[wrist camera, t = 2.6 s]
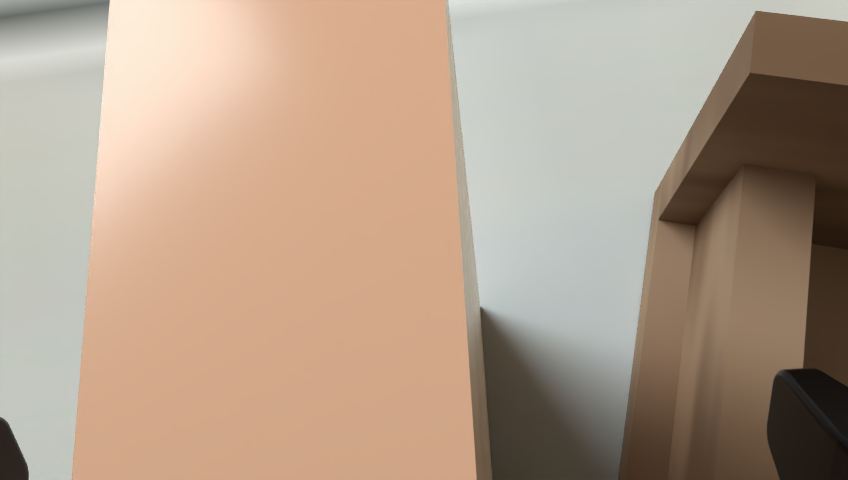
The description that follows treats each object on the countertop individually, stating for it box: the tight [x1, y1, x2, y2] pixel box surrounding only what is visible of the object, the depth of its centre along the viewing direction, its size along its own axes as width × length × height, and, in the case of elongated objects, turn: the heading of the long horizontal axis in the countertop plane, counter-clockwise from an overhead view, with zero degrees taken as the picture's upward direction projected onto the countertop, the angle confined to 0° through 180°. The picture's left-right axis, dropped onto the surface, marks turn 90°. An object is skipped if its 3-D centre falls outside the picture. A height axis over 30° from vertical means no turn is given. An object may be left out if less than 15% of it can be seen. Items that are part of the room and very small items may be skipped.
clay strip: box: [72, 0, 492, 480], centre depth 11 cm, size 5×2×13 cm, turn 3°
